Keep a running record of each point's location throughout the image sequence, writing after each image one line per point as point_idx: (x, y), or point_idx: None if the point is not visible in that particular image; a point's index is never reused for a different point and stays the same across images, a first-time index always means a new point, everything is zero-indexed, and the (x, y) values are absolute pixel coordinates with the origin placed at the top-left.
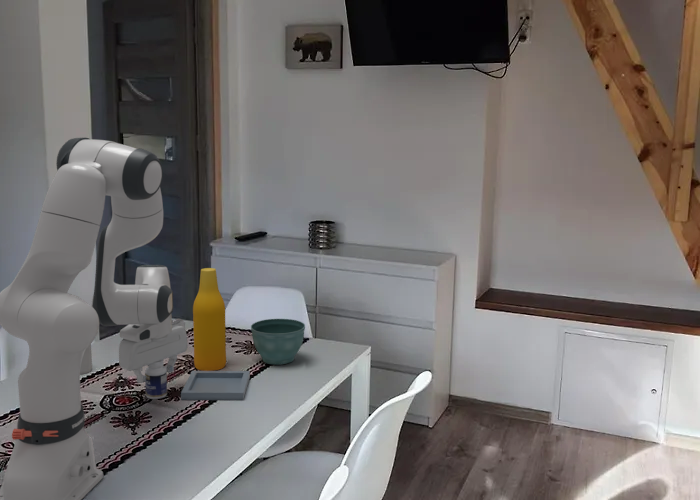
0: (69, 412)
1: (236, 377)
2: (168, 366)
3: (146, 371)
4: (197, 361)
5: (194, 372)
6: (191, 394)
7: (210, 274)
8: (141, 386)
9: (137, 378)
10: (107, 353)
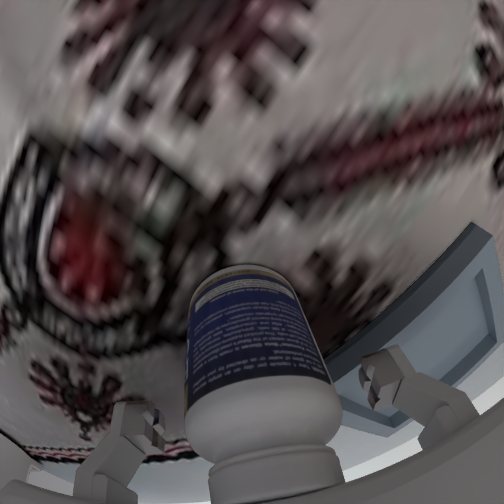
0: None
1: (487, 326)
2: (375, 405)
3: (189, 442)
4: None
5: (482, 259)
6: None
7: None
8: (256, 130)
9: (114, 423)
10: None
